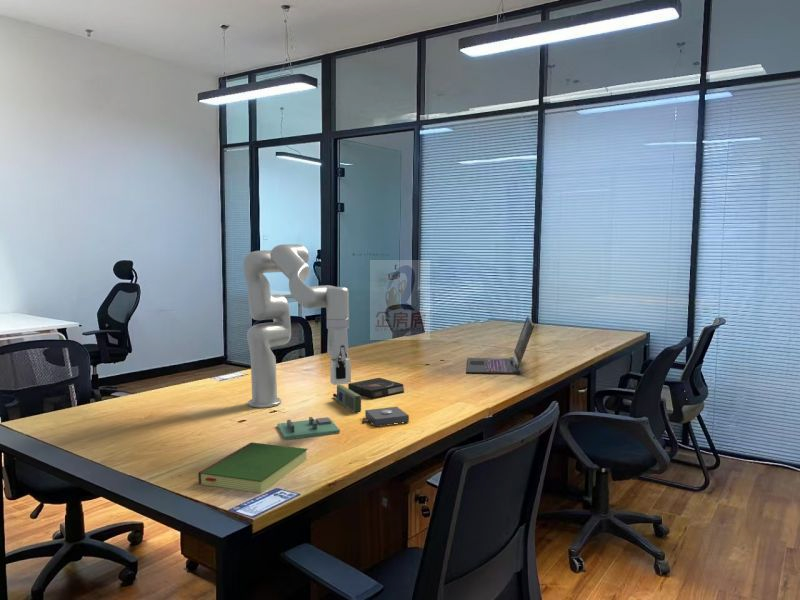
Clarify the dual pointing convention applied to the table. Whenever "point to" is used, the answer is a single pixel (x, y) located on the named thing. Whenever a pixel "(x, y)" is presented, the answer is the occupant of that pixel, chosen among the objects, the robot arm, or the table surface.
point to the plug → (333, 372)
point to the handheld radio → (348, 398)
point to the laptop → (501, 363)
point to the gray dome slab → (386, 416)
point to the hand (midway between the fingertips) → (338, 376)
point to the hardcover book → (253, 467)
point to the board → (307, 428)
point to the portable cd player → (376, 388)
